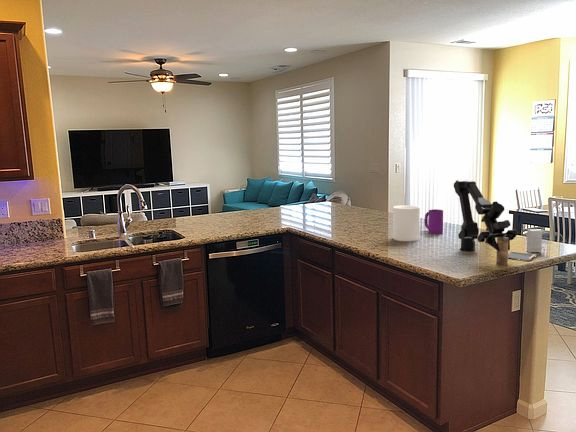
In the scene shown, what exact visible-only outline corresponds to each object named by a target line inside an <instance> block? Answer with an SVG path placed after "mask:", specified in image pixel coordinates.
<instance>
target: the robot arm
mask: <svg viewBox="0 0 576 432" xmlns="http://www.w3.org/2000/svg"><path fill="white" fill-rule="evenodd" d="M453 188H454V193H456V195H457V196H458V197H459V198H458V199H459V203H460V209H461V215H462V221H463V222H462V224H461V226H460V227H461V228H460V231H459V233H458V239H460V248H459V250H460V251H466V252H469V251H470V252H473V251H475V250H476V241H475V240H477V242H478V243H485V244H488V245H489V246H491V247H492V248H493V249H494V250H496V252H497V251H499V250H500V249H499V247H498V244H497V237H508V238H509V239H508V251H510V249H511V245H510V244H511V243H510V242H511V241H513V240H514V239H515V238H517V236H518V234H519V233H518V231H517V230H516V229H508V228H509V227H511V222H510V220H509V219H505V220H503V221H498V220H497V219H499V218H500V217H501V215H502V214H503V213H504V211H505V206H504V205H503V204H501V203H500V202H498V201H493V202H492V203H491V201H490V200H488V199H486V198H485V196H483V194H482V192H481V191H480V189H479V187H478V185H477V183H476V181H475V180H468V179H457V180H455V182H454V183H453ZM469 195H470V196H471V198H472V200H473V201H474V203H475V206H474V208H475V211H476V213H477V214H478V215H480V216H481V215H483V216H482V218H481V220H480V222H481V223H484V225H485V227H486V228H485V230H486V231H481V232H480V233H479V225H478V222H475V221H474V219H473V213H472V207H471V202H470V196H469ZM505 229H507V231H506V230H505ZM505 231H506V232H505Z"/></svg>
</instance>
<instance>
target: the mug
mask: <svg viewBox="0 0 576 432" xmlns="http://www.w3.org/2000/svg"><path fill="white" fill-rule="evenodd" d="M424 227H425V228H426V229H427V230H428V233H429V234H432V235H440V234H441V235H442V234H443V233H444V210H443V209H436V208H435V209H429V210H428V211H426V213H425V215H424Z"/></svg>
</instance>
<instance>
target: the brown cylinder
mask: <svg viewBox="0 0 576 432" xmlns="http://www.w3.org/2000/svg"><path fill="white" fill-rule="evenodd" d="M508 239H509V238H508V237H497V238H496V242H497V244H498V247H499V249H500V250H499V251H497V250H496V257H495V258H496V259H495V260H496V262H495V263H496V265H498V266H507V265H508V261H509V260H508V254H509V250H508Z"/></svg>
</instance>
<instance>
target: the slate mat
mask: <svg viewBox="0 0 576 432" xmlns="http://www.w3.org/2000/svg"><path fill="white" fill-rule="evenodd" d="M535 256H536V257H537V254H536V253H529V252H522V251H521V252H520V251H515V250H511V251H510V253H508V258H511V259H510V260H514V259H520V260H519V261H522V260H528V261H527V262H530V261H529V260H531V259H532V258H534V257H535ZM536 257H535V258H536ZM535 258H534V259H535ZM532 260H533V259H532ZM532 260H531V261H532Z"/></svg>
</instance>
